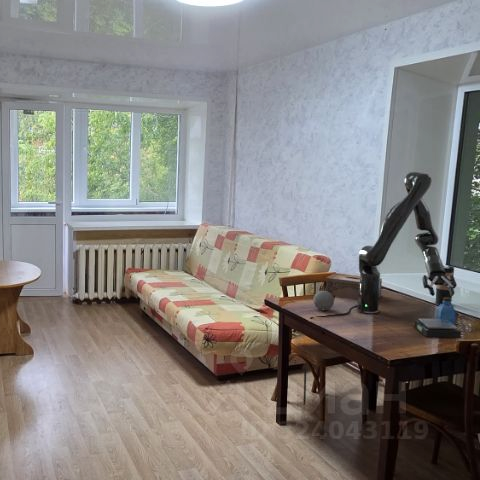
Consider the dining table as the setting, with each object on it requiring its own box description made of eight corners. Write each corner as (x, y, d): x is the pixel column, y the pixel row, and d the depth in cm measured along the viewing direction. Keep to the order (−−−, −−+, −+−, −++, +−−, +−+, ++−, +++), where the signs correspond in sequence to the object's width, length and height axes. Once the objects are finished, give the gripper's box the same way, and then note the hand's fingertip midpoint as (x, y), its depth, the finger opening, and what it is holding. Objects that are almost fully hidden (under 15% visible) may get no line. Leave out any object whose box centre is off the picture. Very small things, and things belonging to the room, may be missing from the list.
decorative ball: (329, 314, 260) (330, 294, 259) (310, 310, 266) (310, 291, 265) (336, 309, 268) (337, 290, 266) (317, 306, 274) (317, 287, 272)
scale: (425, 337, 226) (425, 330, 225) (413, 326, 240) (413, 320, 239) (460, 337, 224) (460, 331, 224) (446, 327, 238) (446, 320, 238)
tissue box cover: (325, 294, 295) (326, 277, 294) (335, 289, 307) (335, 272, 305) (373, 302, 280) (374, 283, 278) (380, 296, 291) (381, 278, 289)
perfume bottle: (454, 325, 240) (456, 300, 238) (440, 324, 241) (442, 299, 240) (450, 321, 246) (452, 296, 244) (436, 320, 247) (437, 296, 246)
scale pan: (428, 328, 226) (428, 326, 226) (417, 320, 238) (417, 318, 238) (457, 329, 225) (457, 327, 225) (445, 320, 237) (445, 318, 237)
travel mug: (443, 306, 269) (445, 268, 266) (431, 302, 277) (434, 265, 273) (455, 305, 271) (457, 267, 268) (443, 301, 279) (446, 264, 275)
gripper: (421, 262, 254) (429, 291, 244) (452, 262, 252) (461, 291, 243) (416, 270, 260) (424, 299, 251) (447, 270, 258) (455, 299, 249)
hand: (442, 295), depth 247 cm, fingers open, 8 cm apart
